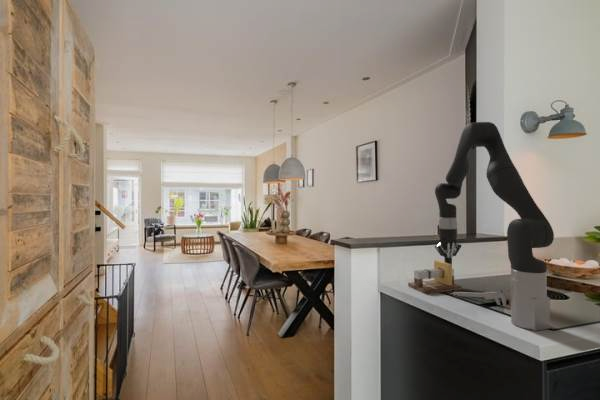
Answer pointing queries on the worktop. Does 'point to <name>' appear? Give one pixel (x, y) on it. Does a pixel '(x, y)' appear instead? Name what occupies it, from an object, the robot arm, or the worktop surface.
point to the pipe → (430, 273)
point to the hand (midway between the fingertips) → (448, 265)
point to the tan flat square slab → (447, 272)
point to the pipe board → (433, 286)
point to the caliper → (487, 296)
